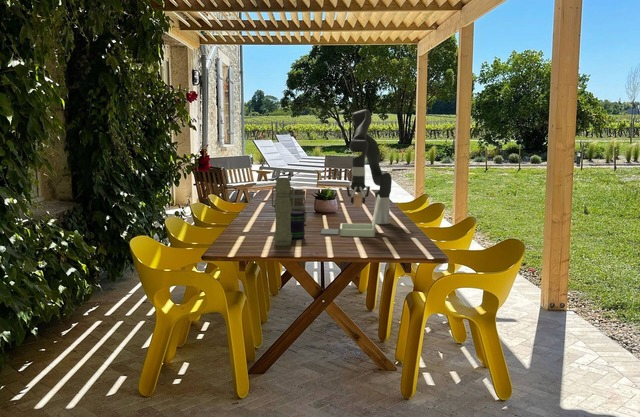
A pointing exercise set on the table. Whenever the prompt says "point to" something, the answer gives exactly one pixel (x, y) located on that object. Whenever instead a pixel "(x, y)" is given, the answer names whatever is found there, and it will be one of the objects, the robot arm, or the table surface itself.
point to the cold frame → (361, 226)
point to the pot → (357, 200)
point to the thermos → (283, 211)
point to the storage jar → (297, 225)
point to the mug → (298, 200)
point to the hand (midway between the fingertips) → (357, 203)
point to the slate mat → (329, 231)
